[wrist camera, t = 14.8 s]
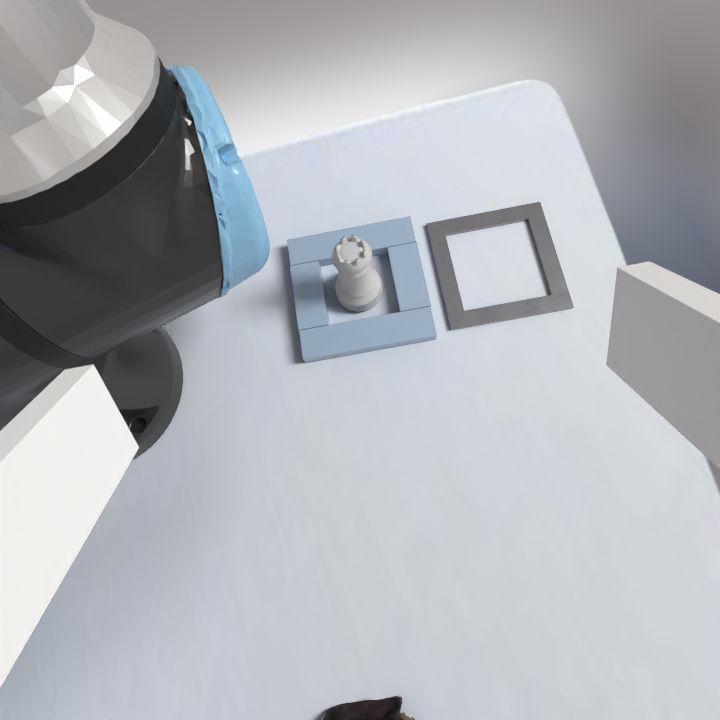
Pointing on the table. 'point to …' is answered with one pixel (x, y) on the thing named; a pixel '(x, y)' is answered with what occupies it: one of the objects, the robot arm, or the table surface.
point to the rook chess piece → (356, 275)
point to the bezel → (507, 311)
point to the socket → (368, 332)
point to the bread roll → (369, 710)
